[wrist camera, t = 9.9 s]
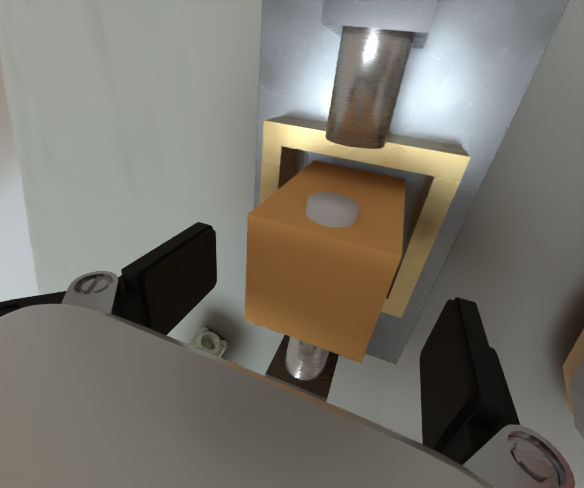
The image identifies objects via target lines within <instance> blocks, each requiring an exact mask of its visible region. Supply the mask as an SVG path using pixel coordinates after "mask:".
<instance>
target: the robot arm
mask: <svg viewBox="0 0 584 488" xmlns="http://www.w3.org/2000/svg"><path fill="white" fill-rule="evenodd" d="M121 271H122V275H121V276H120V277H117V275H116V274H114V273H112V272H108V271H97V272H91V273H88V274H85V275H82V276H80V277H78V278H77V279H75V280H74V281H73V282H72V283H71V284H70V286H69V287H68V290H67V291H63V292H57V293H51V294H44V295H38V296H32V297H25V298H19V299H13V300H9V301H3V302H0V488H574V486H575V482H574V477H573V473H572V471H571V469H570V467H569V465H568V463H567V462H566V460H565V459H564V458H563V456H562V455H561V454H560V452H559V451H558V450H557V449H556V448H555V447H554V446H553V445H552V444H551V443H550V442H549V441H547V440H546V439H545V438H543V437H542V436H541V435H540V434H538V433H536V432H534V431H533V430H531V429H529V428H527V427H524V426H521V425H520V422H519V419H518V416H517V413H516V410H515V407H514V404H513V401H512V398H511V395H510V392H509V389H508V386H507V383H506V380H505V377H504V374H503V371H502V368H501V365H500V362H499V359H498V355H497V353H496V351H495V350H494V349H493V348H491V347H489V344H488V341H487V337H486V334H485V331H484V328H483V324H482V321H481V318H480V315H479V311H478V308H477V305H476V303H475V302H472V301H468V300H465V299H462V298H458V297H457V298H455V299H454V300H450V299H449V300H448V301H447V303H446V305H445V306H444V308H443V310H442V312H441V314H440V316H439V318H438V320H437V322H436V324H435V326H434V328H433V330H432V332H431V334H430V336H429V337H428V339H427V341H426V343H425V345H424V347H423V349H422V351H421V355H420V381H421V409H422V437H423V445H422V444H420V443H418V442H416V441H414V440H412V439H410V438H407V437H405V436H403V435H401V434H398V433H396V432H394V431H392V430H389V429H387V428H385V427H383V426H380V425H378V424H376V423H374V422H371V421H369V420H367V419H365V418H362V417H360V416H358V415H355V414H353V413H350V412H348V411H346V410H343V409H341V408H339V407H336V406H334V405H332V404H329V403H327V402H325V401H322V400H320V399H317V398H315V397H313V396H310V395H308V394H306V393H303V392H301V391H299V390H296V389H294V388H292V387H289V386H287V385H284V384H282V383H280V382H277V381H275V380H272V379H270V378H268V377H265V376H263V375H261V374H258V373H256V372H253V371H251V370H249V369H246V368H244V367H241V366H239V365H237V364H234V363H232V362H229V361H227V360H225V359H222V358H220V357H217V356H215V355H213V354H210V353H208V352H205V351H203V350H200V349H198V348H196V347H193V346H191V345H188V344H186V343H183V342H181V341H178V340H176V339H174V338H171V337H169V336H166V335H167V334H168V333H169V332H170V331H171V330H172V329H173V328H174V327H175V326H176V325H177V324H178V323H179V322H180V321H181V320H182V319H183V318H184V317H185V316H186V315H187V314H188V313H189V312H190V311H191V310H192V309H193V308H194V307H195V306H196V305H197V304H198V303H199V302H200V301H201V300H202V299H203V298H204V297H205V296H206V295H207V294H208V293H209V292H210V291H211V290H212V289H213V288H214V287H215V285H216V282H217V264H216V232H215V230H213V228H212V226H211V225H207V224H204V223H201V222H198V223H196V224H194V225H192V226H191V227H189V228H187V229H186V230H184V231H183V232H181V233H179V234H178V235H176V236H175V237H173V238H171V239H170V240H168V241H166V242H165V243H163V244H162V245H160V246H158V247H157V248H155V249H154V250H152V251H150V252H149V253H147V254H145V255H144V256H142V257H141V258H139V259H137V260H136V261H134V262H133V263H131V264H129V265H128V266H126V267H125V268H123V269H121Z"/></svg>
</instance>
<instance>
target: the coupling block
mask: <svg viewBox="0 0 584 488" xmlns="http://www.w3.org/2000/svg"><path fill="white" fill-rule="evenodd" d="M405 185H406V179H402V178H398V177H393V176H388V175H383V174H378V173H374V172H369V171H364V170H359V169H354V168H349V167H345V166H340V165H335V164H330V163H325V162H321V161H316V160H314V161H313V162H312V163H310V164H309V165H308V166H307V167H305V168H304V169H303V170H302V171H301V172H299V173H298V174H297V175H296V176H294V177H293V178H292V179H291V180H289V181H288V182H287V183H286V184H285V185H283V186H282V187H281V188H280V189H278V190H277V191H276V192H275V193H273V194H272V195H271V196H270V197H269V198H267V199H266V200H265V201H264V202H262V203H261V204H260V205H259V206H257V207H256V208H255V209H254V210H253V211H251V212H250V213H249V214H248V233H247V266H246V298H245V320H247V321H250V322H252V323H255V324H258V325H260V326H263V327H266V328H268V329H271V330H274V331H277V332H279V333H282V334H285V335H287V336H290V337H293V338H296V339H298V340H301V341H304V342H306V343H309V344H312V345H314V346H317V347H320V348H323V349H325V350H328V351H331V352H333V353H336V354H339V355H342V356H344V357H347V358H350V359H352V360H355V361H358V362H360V363H361V362H362V360H363V357H364V354H365V352H366V349H367V346H368V344H369V341H370V339H371V336H372V333H373V331H374V328H375V325H376V323H377V320H378V317H379V315H380V312H381V309H382V307H383V304H384V301H385V299H386V296H387V294H388V291H389V288H390V286H391V283H392V280H393V278H394V275H395V272H396V270H397V267H398V264H399V262H400V259H401V256H402V242H403V223H404V204H405Z"/></svg>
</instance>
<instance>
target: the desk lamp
mask: <svg viewBox="0 0 584 488" xmlns="http://www.w3.org/2000/svg"><path fill="white" fill-rule="evenodd" d="M562 368H563V373H564V379H565V385H566V391H567V397H568V403H569V408H570V410H571V411H572V412H573V414H574V419H575V425H576V428H577V430H578V431H579V432H580V434H581V435H582V436H583V438H584V329H583V331H582V333H581V334H580V336H579V338H578V340H577V341H576V343H575V345H574V347H573V348H572V350H571V352H570V354H569V356H568V357H567V359H566V361H565V363H564V364H563V366H562Z"/></svg>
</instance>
